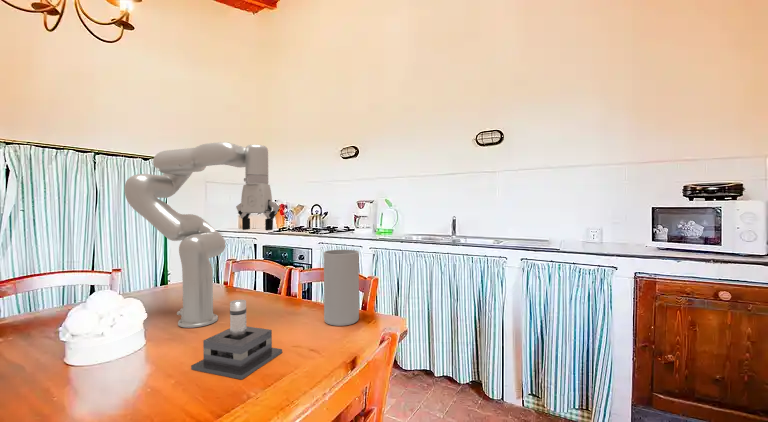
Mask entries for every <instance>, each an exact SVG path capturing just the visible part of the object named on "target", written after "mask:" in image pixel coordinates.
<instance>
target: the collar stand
mask: <svg viewBox="0 0 768 422" xmlns="http://www.w3.org/2000/svg"><path fill="white" fill-rule="evenodd" d="M246 336H247V337H245V338H243V339H241V340H236V339H230V328H227V329H225V330H223V331H221V332H219V333H217V334H214V335H212V336H210V337H208V338H205V339H203V340H202V342H203V345H202V346H203V347H202V348H203V349H202V351H203V358H202V360H199V361H197V362H195V363H194V364H192V365H191V366H190V369H191V370H193V371H197V372H202V373H206V374H211V375H217V376H222V377H226V378H231V379H236V380H244V379H245V378H247V377H248V376H249V375H251V374H253V373H255V372H256V371H257V370H258V369H260V368H261V367H262V368H263V366H265V365H266V364H268V363H269V362H270V361H272V360H274V359H275V358H277V357H278V356H280V355H281V354H283V349H282V348H278V347H277V348H276V347H272V346H273V340H272V338H273V337H272V329H268V328H260V327H254V326H247V325H246Z"/></svg>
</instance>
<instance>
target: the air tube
mask: <svg viewBox="0 0 768 422" xmlns="http://www.w3.org/2000/svg"><path fill="white" fill-rule="evenodd" d="M229 321H230V323H229V324H230V325H229V326H230V327H229V329H230V339H236V340H241V339H243V338H245V337H247V336H246V326H247V300H246V299H236V300H235V299H234V300H231V301H229Z"/></svg>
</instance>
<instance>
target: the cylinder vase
mask: <svg viewBox="0 0 768 422" xmlns="http://www.w3.org/2000/svg"><path fill="white" fill-rule="evenodd" d="M359 254H360V251H359V250H355V249H332V250H331V249H330V250H325V251H323V319H324V320H323V321H324V322H325V323H326V324H328V325H329V326H330V325H331V326H333V327H334V326H335V327H336V326H337V327H342V326H343V327H345V326H350V325H354V324H356V323H357V322H358V321H359V318H360V283H359V282H360V278H359V277H360V275H359V274H360V273H359V272H360V271H359V268H360V266H359V265H360V264H359V263H360V261H359V258H360V255H359Z"/></svg>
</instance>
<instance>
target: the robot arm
mask: <svg viewBox="0 0 768 422" xmlns="http://www.w3.org/2000/svg"><path fill="white" fill-rule="evenodd" d="M221 165H223V166H224V165H225V166H231V167H235V168H242V169H243V168H245V172H244V173H245V174H244V176H245V177H244V178H243V181H244V182H245V184H243V186H242V189H241V190H242V191H241V199H240V203H239V204H237V205H236V207H235V209H236V211H237V214H238V215H239V217H240V219H241V222H242V223H241V224H242V225H241V228H242V230H243V231H246V230H250V229H251V218H250V216H251V215H252V214H263V215H264V216H265V217H266V218H265V225H264V226H265V227H264V229H265V231H273V229H274V219H275V217H276V216H277V214H278V211H279V209H280V205H278V204H277V203H275V202H274V201H273V196H272V190H271V189H272V188H271V185H270V184H269V150H268V148H267V146H266V145H262V144H248V145H246V146H241V145H238V144H235V143H230V142H227V141H219V142H209V143H202V144H199V145H198V146H195V147H188V148H179V149H167V150H163V151H160V152H158V153H156V154H155V155H154V157H153V166H154V168H155V170H157V171H159V172H160V173H162V175H161V174H151V173H138V174H134V175H131V176H130V177H128V178H127V180H126V181H125V183H124V195H125V199H126V201H127V203H128V205H130V207H131V208H132V209H133V210H134V211H135V212H137V214H139V215H140V216H142V217H143V218H144V219H145V220H146V221H148V223H149V224H150V225H152V226H153V227H154V228H155V229H156V230H157V231H158V232H159V233H161V234H162V235H163V236H164V237H165V238H166V239H168V240H169V241H174V242H180V241H181V242H180V243H179V246H178V253H179V259H180V262H181V272H182V273H181V274H182V276H181V277H182V307H181V308H180V309H179V310H178V311H177V312H176V315H177V316H181V317H180V319H178V321H177V326H178V327H180V328H186V329H188V328H189V329H190V328H191V329H192V328H193V329H194V328H200V327H204V326H208V325H212V324H214V323H217V321H218V320H219V316H218V315H217V314H216V313H214V283H213V281H214V280H213V279H214V278H213V276H214V275H213V267H212V264H211V262H210V259H212V258H215V257H217V256H220V255H221V254H223V252H224V251H225V249H226V240H225V238H224V237H223V235H222V234H220V232H219V231H217V229H215V228H214V227H213V226H212V225H211V224H210V223H209V222H207V221H206V220H205V219H204V218H202V217H201V216H199V215H196V214H192V213H190V214H189V213H188V214H185V213H184V214H183V213H182V214H181V213H179V212H178V211H176V210H175V209H173V207H171V206H170V205H169V204H168V203H166V202H165V201H163V200H161V199H166V198H170V197H172V196H174V195H175V194H176V193H177V192H178V191H179V190H180V189H181V187H183V185H184V184H185V183H186V182H187V181H188V179H189V178H190V177H191V176H192V174H193V173H198V172H203V171H204V170H205V169H206V167H210V166H221Z"/></svg>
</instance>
